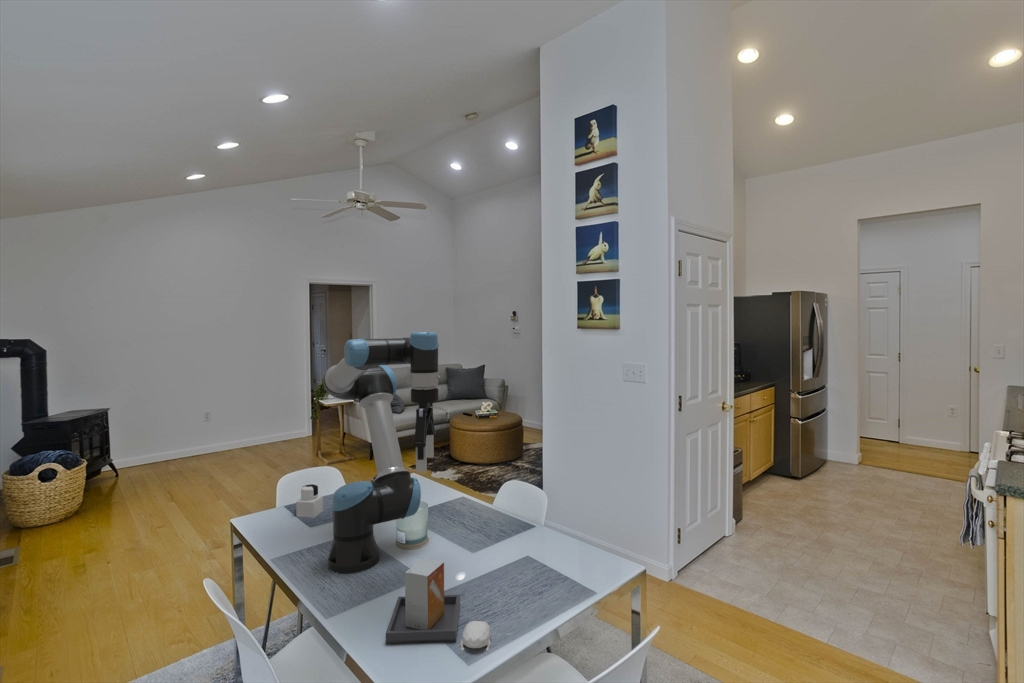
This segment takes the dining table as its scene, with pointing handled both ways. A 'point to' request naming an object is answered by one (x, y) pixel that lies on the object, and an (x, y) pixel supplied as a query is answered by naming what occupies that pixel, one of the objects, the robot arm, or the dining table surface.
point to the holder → (438, 633)
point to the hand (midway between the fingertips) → (425, 464)
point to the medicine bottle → (309, 502)
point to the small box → (424, 594)
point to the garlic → (476, 635)
